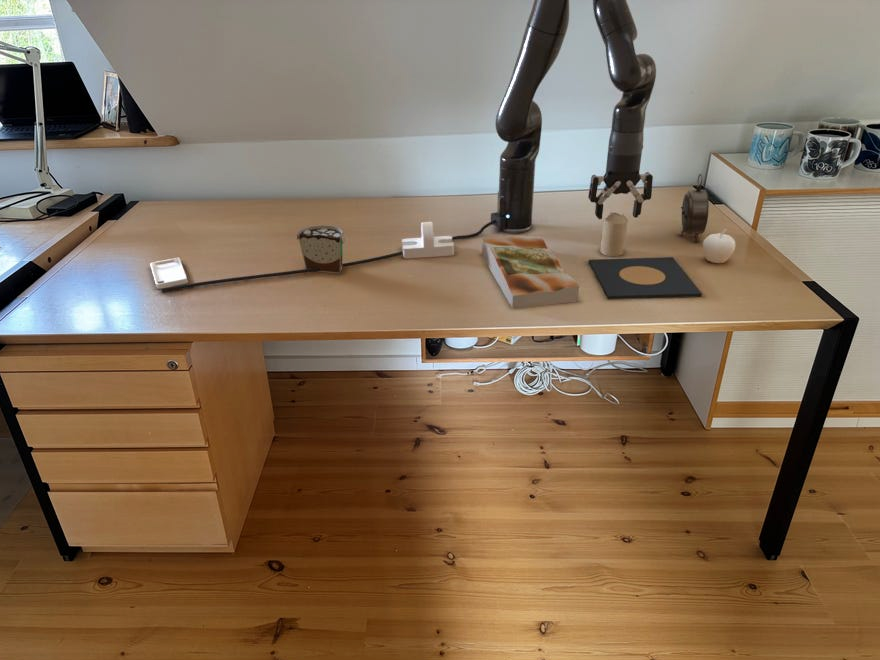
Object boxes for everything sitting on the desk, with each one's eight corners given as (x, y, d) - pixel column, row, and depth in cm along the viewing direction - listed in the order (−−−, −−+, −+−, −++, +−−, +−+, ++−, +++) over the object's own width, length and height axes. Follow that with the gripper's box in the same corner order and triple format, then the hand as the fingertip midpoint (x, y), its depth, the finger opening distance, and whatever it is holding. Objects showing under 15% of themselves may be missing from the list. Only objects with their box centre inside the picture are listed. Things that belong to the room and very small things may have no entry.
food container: (355, 264, 168) (352, 226, 163) (346, 274, 163) (342, 235, 158) (311, 260, 172) (306, 222, 166) (300, 269, 167) (295, 231, 162)
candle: (624, 249, 168) (630, 211, 163) (621, 257, 164) (626, 218, 159) (602, 246, 170) (607, 208, 165) (598, 254, 166) (602, 216, 161)
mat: (607, 299, 146) (608, 295, 145) (588, 262, 163) (588, 259, 162) (701, 296, 145) (702, 293, 144) (672, 260, 162) (672, 256, 161)
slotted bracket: (403, 258, 170) (402, 229, 166) (402, 248, 176) (400, 219, 172) (454, 255, 170) (454, 226, 166) (451, 245, 176) (451, 216, 172)
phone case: (188, 283, 163) (180, 261, 175) (187, 278, 162) (179, 257, 174) (157, 289, 161) (151, 267, 172) (155, 284, 160) (149, 262, 172)
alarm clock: (703, 244, 169) (716, 180, 160) (681, 243, 170) (692, 180, 161) (696, 228, 178) (708, 167, 169) (675, 228, 179) (685, 167, 170)
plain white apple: (717, 268, 156) (725, 236, 152) (693, 258, 162) (699, 227, 157) (738, 262, 159) (746, 230, 155) (714, 252, 164) (720, 221, 160)
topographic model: (481, 254, 169) (482, 236, 167) (537, 249, 171) (538, 231, 168) (512, 307, 144) (513, 286, 142) (577, 301, 145) (579, 280, 143)
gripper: (651, 144, 157) (642, 211, 165) (590, 147, 158) (584, 213, 166) (661, 152, 150) (651, 221, 159) (597, 155, 151) (590, 224, 160)
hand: (617, 217), depth 162 cm, fingers open, 8 cm apart
